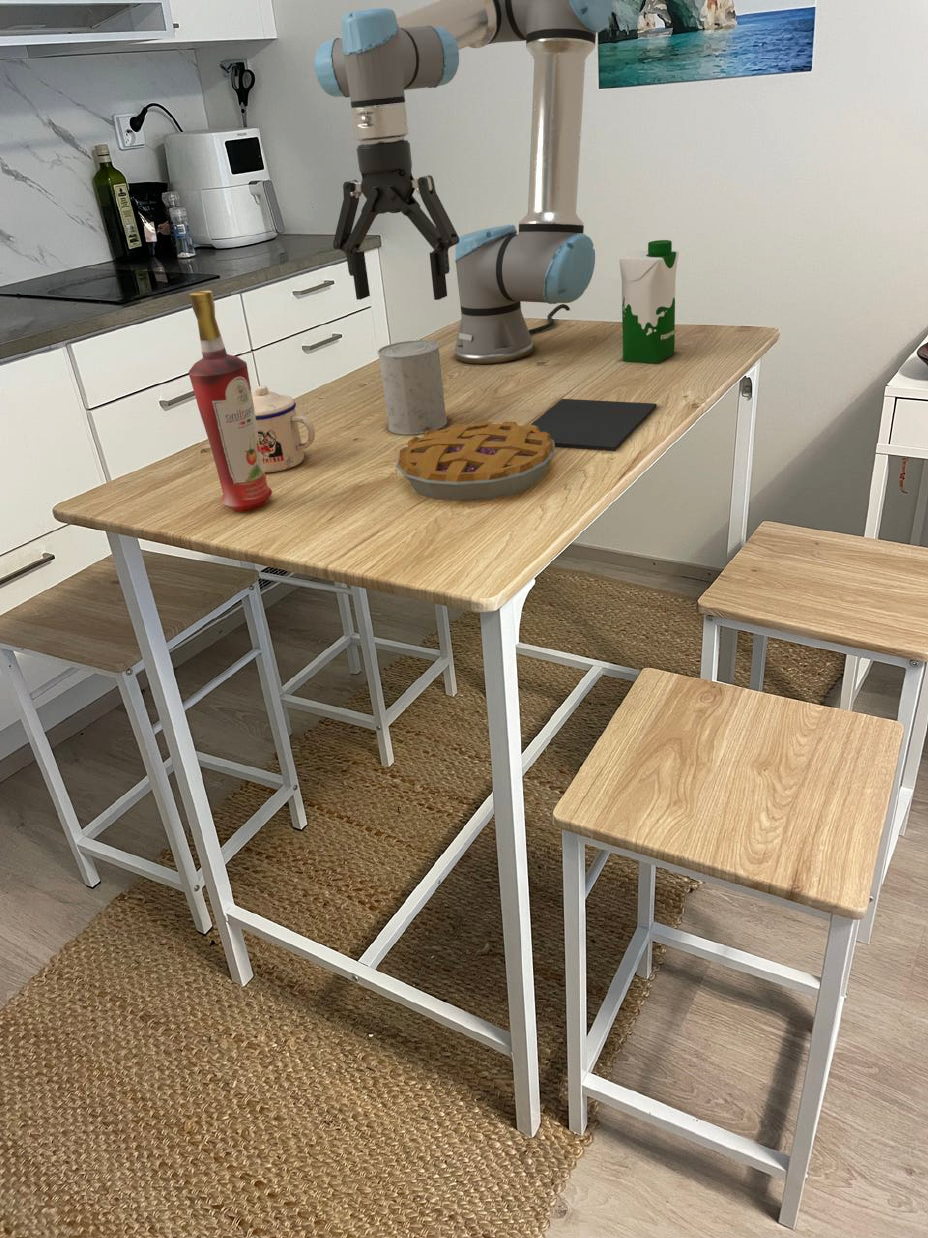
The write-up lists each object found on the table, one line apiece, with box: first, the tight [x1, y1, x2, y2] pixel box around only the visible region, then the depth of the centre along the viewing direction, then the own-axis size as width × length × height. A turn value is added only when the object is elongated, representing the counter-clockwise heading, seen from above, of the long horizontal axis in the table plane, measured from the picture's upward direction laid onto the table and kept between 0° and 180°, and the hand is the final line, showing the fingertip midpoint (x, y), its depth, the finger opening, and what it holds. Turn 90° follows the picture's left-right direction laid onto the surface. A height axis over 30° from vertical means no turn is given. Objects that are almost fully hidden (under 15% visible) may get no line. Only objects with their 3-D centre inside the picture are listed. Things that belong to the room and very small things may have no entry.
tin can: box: [377, 339, 448, 436], centre depth 149 cm, size 10×10×12 cm
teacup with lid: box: [252, 385, 316, 473], centre depth 139 cm, size 12×9×12 cm
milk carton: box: [618, 239, 680, 364], centre depth 168 cm, size 9×9×20 cm
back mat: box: [529, 398, 658, 452], centre depth 144 cm, size 20×16×1 cm
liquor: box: [188, 290, 273, 513], centre depth 122 cm, size 7×7×28 cm
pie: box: [395, 420, 556, 502], centre depth 129 cm, size 22×22×5 cm
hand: (401, 297), depth 142 cm, fingers open, 13 cm apart
